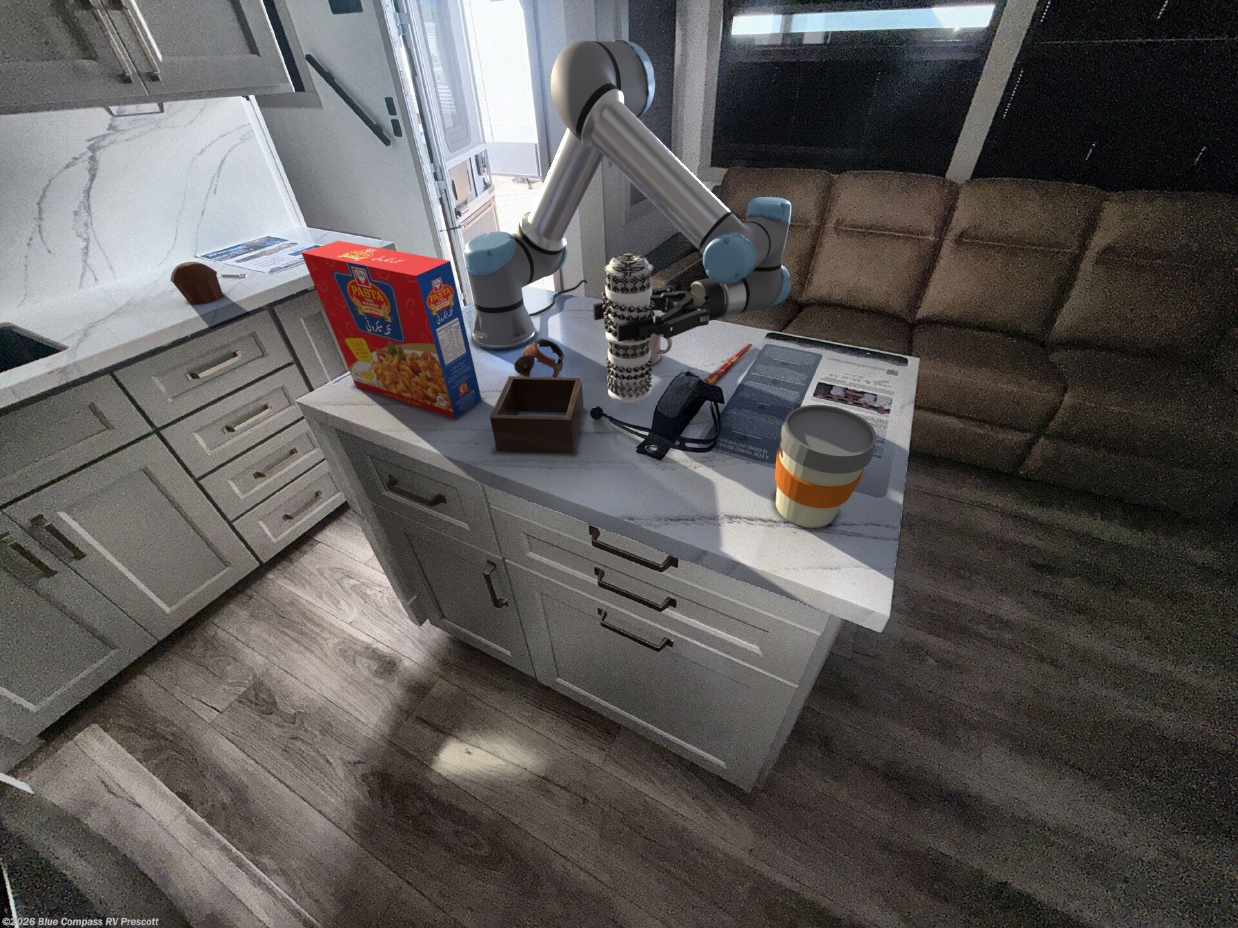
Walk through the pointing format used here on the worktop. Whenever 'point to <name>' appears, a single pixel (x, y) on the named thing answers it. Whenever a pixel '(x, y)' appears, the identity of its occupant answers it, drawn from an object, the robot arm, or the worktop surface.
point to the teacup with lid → (658, 346)
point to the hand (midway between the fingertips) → (605, 322)
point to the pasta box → (397, 324)
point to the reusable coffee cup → (820, 462)
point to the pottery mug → (539, 358)
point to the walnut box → (538, 430)
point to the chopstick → (725, 366)
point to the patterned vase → (626, 304)
